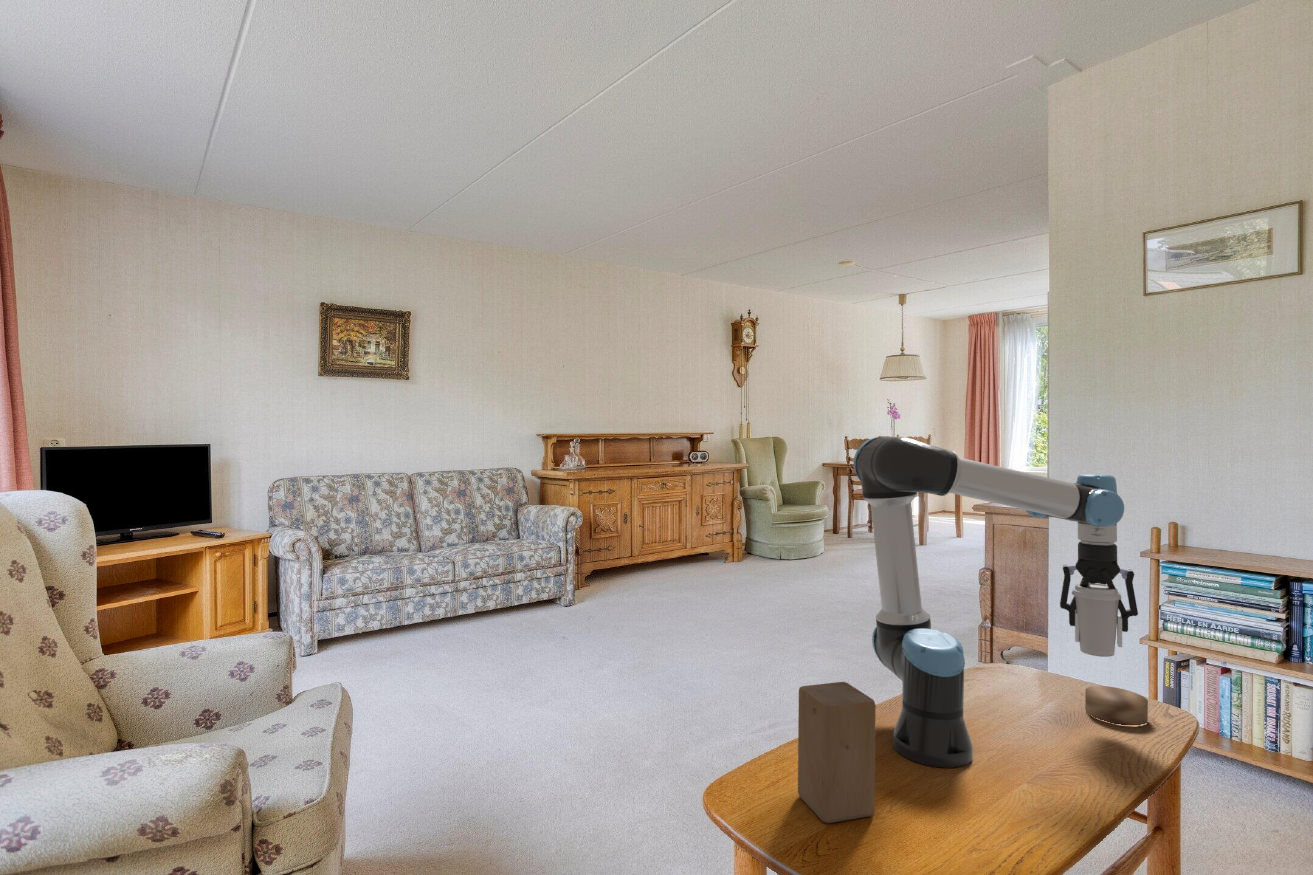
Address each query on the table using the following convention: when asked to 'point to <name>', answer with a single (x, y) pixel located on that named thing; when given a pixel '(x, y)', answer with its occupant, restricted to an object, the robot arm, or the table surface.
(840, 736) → the wooden block
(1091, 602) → the coffee cup
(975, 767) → the table surface
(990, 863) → the table surface
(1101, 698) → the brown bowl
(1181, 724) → the table surface
